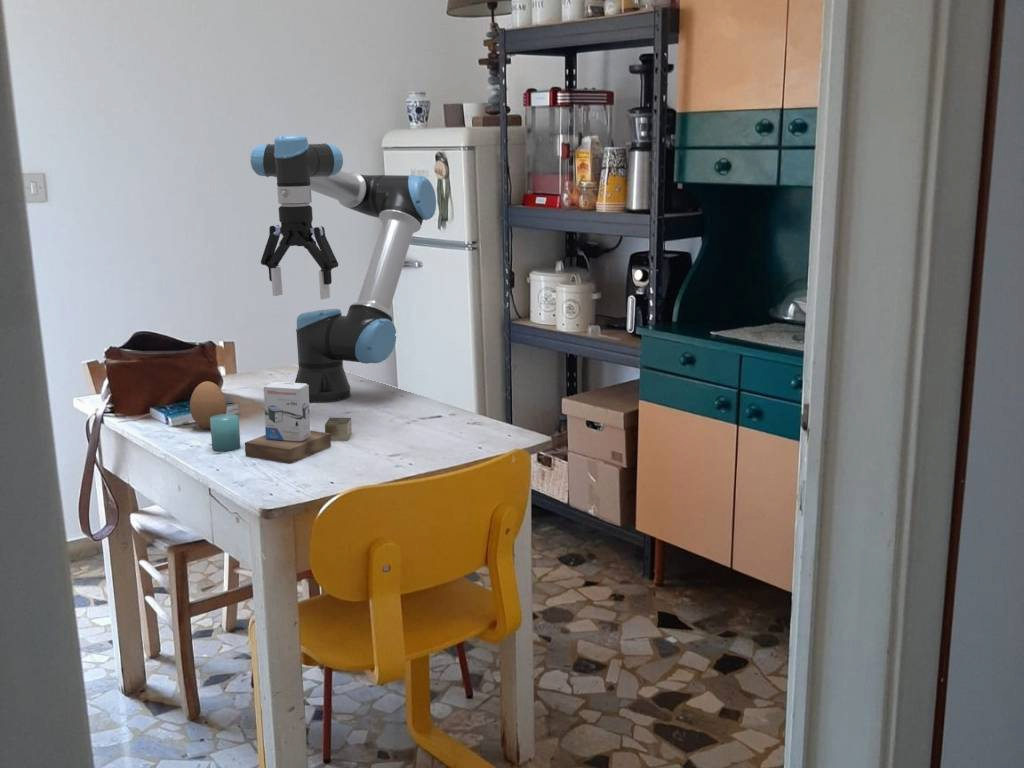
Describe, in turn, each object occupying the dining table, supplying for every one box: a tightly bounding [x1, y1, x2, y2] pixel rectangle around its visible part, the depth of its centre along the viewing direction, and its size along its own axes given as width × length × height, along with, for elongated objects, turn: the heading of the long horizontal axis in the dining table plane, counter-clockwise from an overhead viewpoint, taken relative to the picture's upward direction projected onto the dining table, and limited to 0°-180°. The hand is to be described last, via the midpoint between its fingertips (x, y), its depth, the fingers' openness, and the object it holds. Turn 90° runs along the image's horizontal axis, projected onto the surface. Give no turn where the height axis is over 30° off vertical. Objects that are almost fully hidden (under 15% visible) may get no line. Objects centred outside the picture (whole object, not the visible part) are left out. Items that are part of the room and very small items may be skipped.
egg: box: [189, 380, 228, 430], centre depth 231 cm, size 8×8×11 cm
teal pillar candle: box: [210, 413, 241, 453], centre depth 215 cm, size 6×6×7 cm
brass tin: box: [324, 417, 353, 442], centre depth 224 cm, size 6×5×4 cm
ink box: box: [263, 381, 311, 441], centre depth 211 cm, size 9×5×12 cm, turn 78°
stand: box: [244, 429, 332, 464], centre depth 213 cm, size 14×12×3 cm
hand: (301, 297), depth 230 cm, fingers open, 13 cm apart
